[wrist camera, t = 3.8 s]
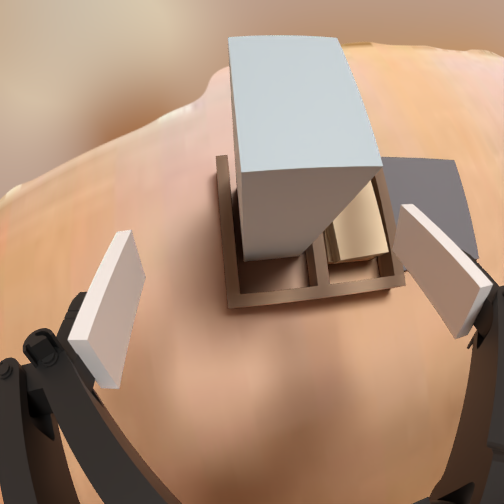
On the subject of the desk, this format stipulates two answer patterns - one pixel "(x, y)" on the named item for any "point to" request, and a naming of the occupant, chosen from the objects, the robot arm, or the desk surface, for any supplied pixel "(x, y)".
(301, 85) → the pale blue thick slab
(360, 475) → the desk surface
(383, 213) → the rack
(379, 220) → the offcut top
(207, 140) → the desk surface
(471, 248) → the mat
